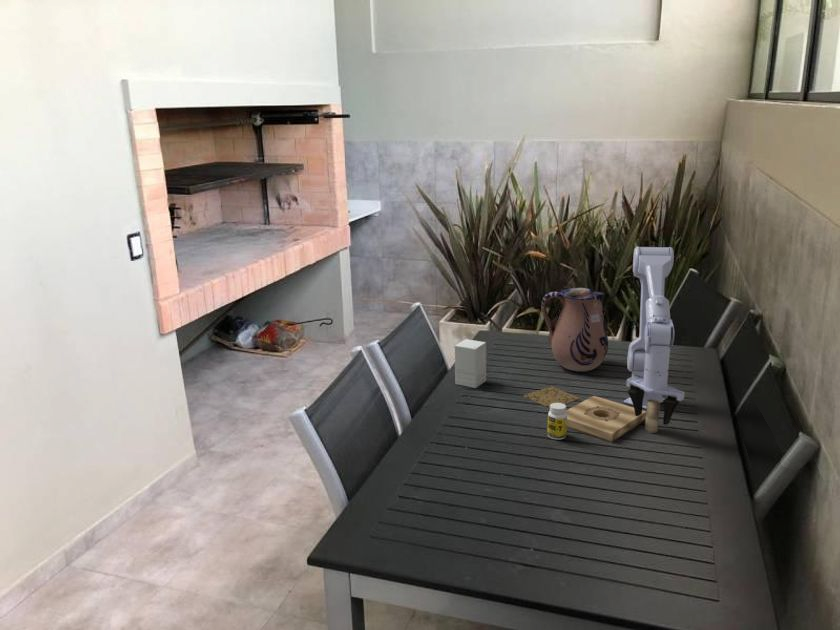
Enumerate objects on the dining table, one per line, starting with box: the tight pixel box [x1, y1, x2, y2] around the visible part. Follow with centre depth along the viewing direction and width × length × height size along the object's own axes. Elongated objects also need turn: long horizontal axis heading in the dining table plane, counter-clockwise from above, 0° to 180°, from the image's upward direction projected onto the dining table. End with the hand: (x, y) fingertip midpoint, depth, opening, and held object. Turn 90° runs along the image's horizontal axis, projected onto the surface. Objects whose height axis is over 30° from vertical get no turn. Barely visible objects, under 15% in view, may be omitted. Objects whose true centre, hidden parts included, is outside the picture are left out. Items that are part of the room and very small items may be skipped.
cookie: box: [523, 386, 582, 409], centre depth 198 cm, size 12×12×1 cm
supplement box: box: [454, 338, 487, 389], centre depth 209 cm, size 7×7×13 cm
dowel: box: [644, 399, 661, 434], centre depth 175 cm, size 3×3×8 cm
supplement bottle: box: [546, 403, 568, 441], centre depth 173 cm, size 5×5×8 cm
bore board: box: [566, 395, 646, 443], centre depth 181 cm, size 18×16×2 cm
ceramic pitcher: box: [541, 287, 609, 373], centre depth 218 cm, size 18×21×25 cm
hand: (652, 419), depth 175 cm, fingers open, 7 cm apart
